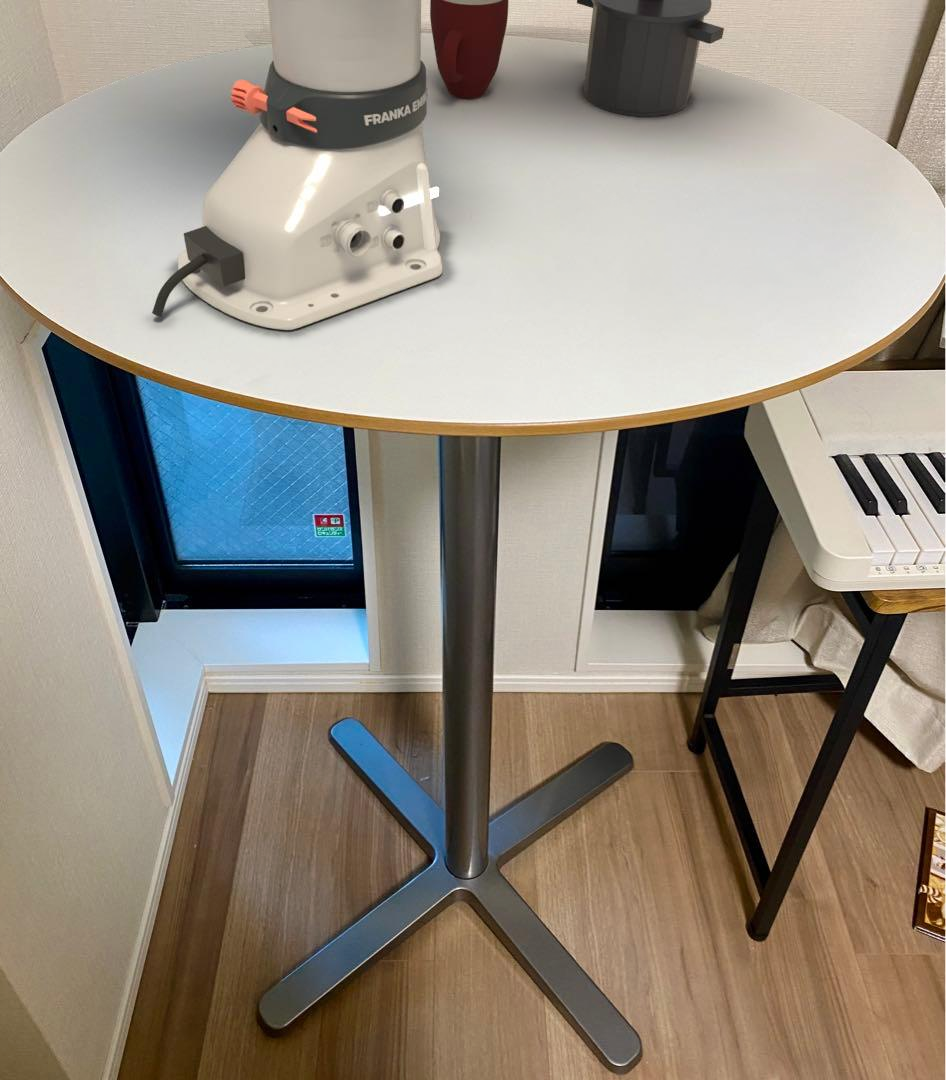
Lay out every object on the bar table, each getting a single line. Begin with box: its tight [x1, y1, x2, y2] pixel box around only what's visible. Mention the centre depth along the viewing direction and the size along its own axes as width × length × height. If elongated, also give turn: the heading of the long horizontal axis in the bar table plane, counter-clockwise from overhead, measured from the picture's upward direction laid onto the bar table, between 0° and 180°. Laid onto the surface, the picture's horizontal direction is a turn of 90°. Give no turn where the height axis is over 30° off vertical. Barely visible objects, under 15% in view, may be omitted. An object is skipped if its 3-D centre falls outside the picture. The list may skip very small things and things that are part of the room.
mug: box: [429, 0, 509, 100], centre depth 104 cm, size 11×8×10 cm
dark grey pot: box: [576, 0, 725, 118], centre depth 106 cm, size 11×17×9 cm
